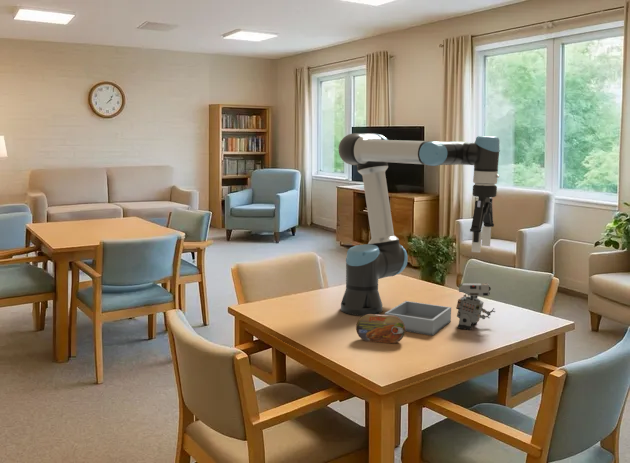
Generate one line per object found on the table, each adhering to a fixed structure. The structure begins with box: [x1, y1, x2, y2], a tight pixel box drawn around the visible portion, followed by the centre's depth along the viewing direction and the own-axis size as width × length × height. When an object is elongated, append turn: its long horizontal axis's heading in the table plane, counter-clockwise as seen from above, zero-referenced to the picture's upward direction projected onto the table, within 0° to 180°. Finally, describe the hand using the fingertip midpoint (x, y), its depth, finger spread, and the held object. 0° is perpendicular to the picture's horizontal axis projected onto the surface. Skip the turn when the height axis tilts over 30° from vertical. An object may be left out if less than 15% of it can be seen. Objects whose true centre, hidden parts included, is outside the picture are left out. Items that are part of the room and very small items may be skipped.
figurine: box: [455, 282, 496, 331], centre depth 209 cm, size 9×12×15 cm
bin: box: [384, 300, 452, 337], centre depth 212 cm, size 17×19×5 cm
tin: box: [355, 314, 406, 344], centre depth 194 cm, size 15×3×8 cm, turn 77°
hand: (481, 249), depth 207 cm, fingers open, 13 cm apart
